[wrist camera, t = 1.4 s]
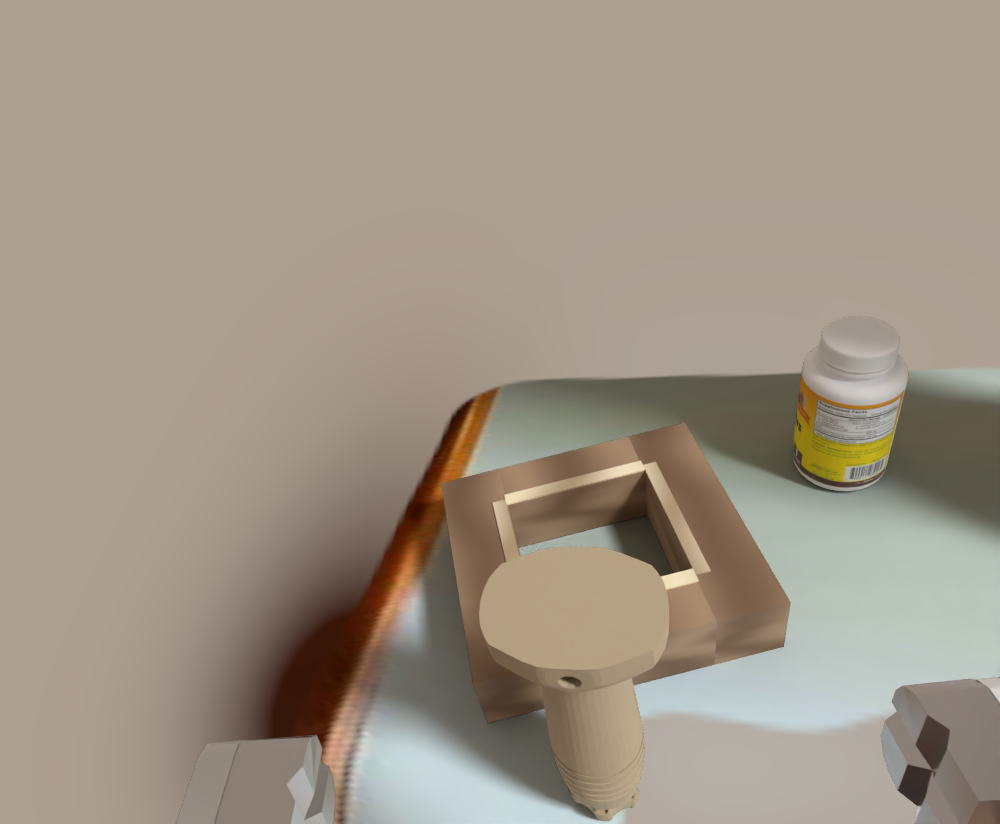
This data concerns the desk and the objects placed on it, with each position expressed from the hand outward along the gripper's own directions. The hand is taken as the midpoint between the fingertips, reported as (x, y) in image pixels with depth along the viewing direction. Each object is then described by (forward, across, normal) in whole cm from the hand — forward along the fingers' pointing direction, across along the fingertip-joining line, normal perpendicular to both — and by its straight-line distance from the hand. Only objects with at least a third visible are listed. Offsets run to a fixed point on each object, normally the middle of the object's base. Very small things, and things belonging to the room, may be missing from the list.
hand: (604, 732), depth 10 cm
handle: (+13, -2, +24) cm, 28 cm away
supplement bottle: (+30, -20, +21) cm, 42 cm away
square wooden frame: (+24, -3, +23) cm, 33 cm away
